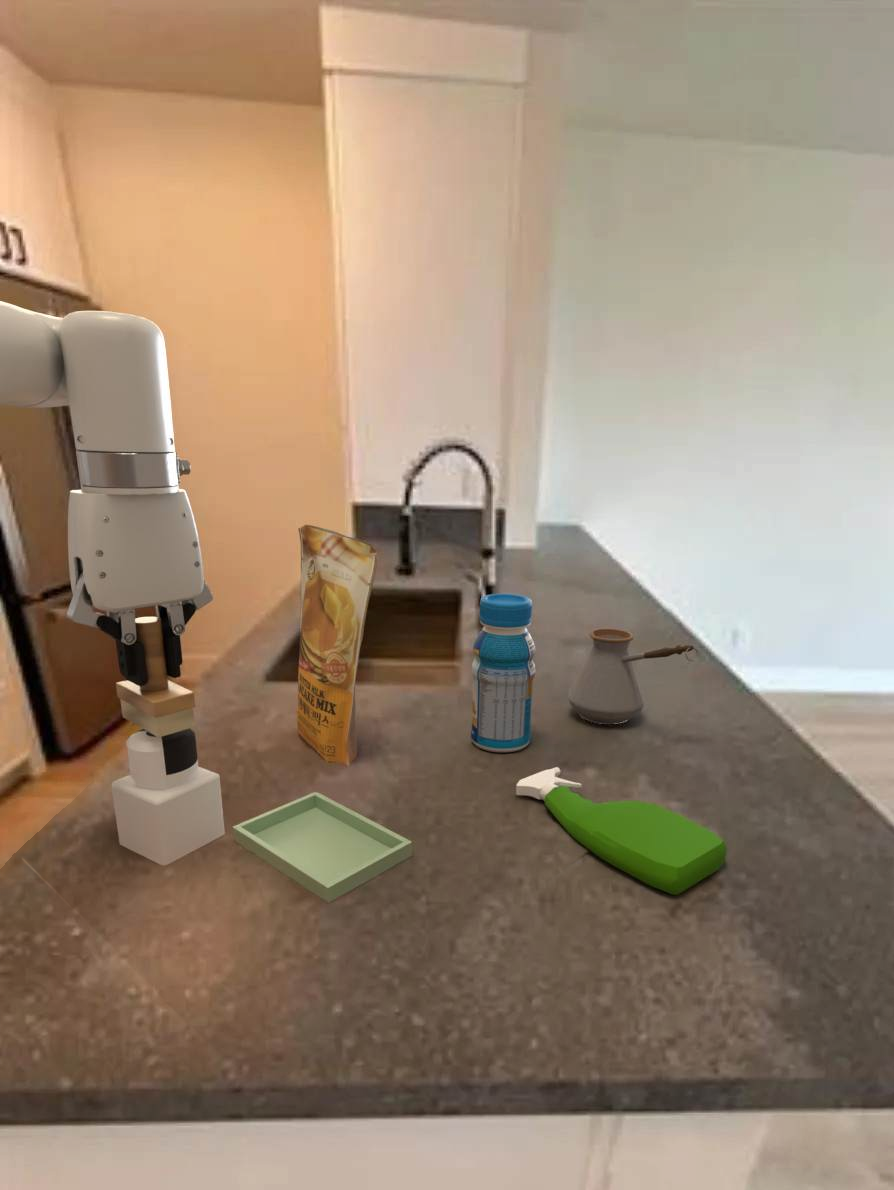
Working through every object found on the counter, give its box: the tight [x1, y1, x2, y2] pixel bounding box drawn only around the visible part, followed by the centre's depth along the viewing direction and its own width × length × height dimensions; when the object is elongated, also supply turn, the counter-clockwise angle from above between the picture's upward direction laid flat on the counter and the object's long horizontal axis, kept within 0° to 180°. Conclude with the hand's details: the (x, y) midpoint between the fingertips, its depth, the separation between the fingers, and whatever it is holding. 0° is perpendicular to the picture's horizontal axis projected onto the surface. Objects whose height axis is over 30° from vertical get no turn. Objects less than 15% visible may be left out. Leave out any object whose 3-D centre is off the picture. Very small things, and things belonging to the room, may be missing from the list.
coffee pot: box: [567, 628, 699, 724], centre depth 103 cm, size 21×12×15 cm, turn 34°
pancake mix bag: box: [296, 524, 378, 767], centre depth 92 cm, size 7×19×28 cm, turn 33°
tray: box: [232, 791, 413, 904], centre depth 72 cm, size 15×10×2 cm
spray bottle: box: [515, 766, 728, 896], centre depth 78 cm, size 3×11×24 cm
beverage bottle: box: [470, 593, 536, 753], centre depth 96 cm, size 8×8×20 cm
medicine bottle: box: [110, 728, 226, 867], centre depth 71 cm, size 7×7×12 cm
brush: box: [115, 616, 196, 737], centre depth 67 cm, size 7×4×10 cm, turn 51°
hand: (152, 676), depth 67 cm, fingers closed on brush, 2 cm apart
